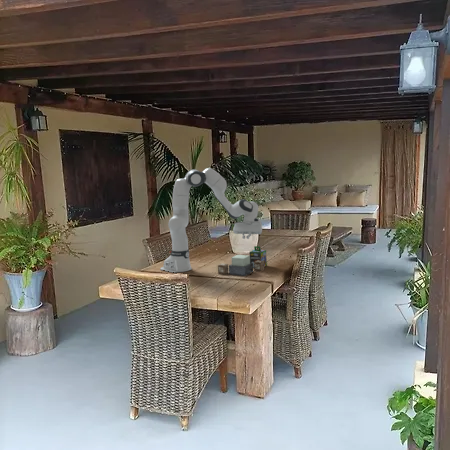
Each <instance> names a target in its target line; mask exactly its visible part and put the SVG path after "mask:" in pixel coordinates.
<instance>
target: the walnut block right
mask: <svg viewBox="0 0 450 450" xmlns="http://www.w3.org/2000/svg"><path fill="white" fill-rule="evenodd" d="M262 270H263V271H264V270H265V267H264V261H256V262H254V268H253V272H263V271H262Z"/></svg>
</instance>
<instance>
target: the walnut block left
mask: <svg viewBox="0 0 450 450" xmlns="http://www.w3.org/2000/svg"><path fill="white" fill-rule="evenodd" d="M217 274H218V275H226V274H227V275H228V274H229V264H228V263H220V264H217Z"/></svg>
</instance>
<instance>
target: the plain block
mask: <svg viewBox="0 0 450 450" xmlns="http://www.w3.org/2000/svg"><path fill="white" fill-rule="evenodd" d="M230 259H231V264H232V265H233V266H246V265H248V264H250V255H247V254H246V255H244V254H236V255H234V256H232V257H231V258H230Z"/></svg>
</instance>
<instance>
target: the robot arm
mask: <svg viewBox="0 0 450 450" xmlns="http://www.w3.org/2000/svg"><path fill="white" fill-rule="evenodd" d="M203 184H206V185H207V186H208V187H209V188H211V191H212V192H213V195H214V197H215V198H216V200H217V201H218V203H219V204H220V205H221V206H222V208H223V209H224V210H225V211H226V213H227V215H228V216H229V217H230V219H233V220H237V219H238V218H240V217H241V216H244V217H243V221H237V222H235V223H234V226H233V228H232V231H233V233H234V235H236V234H237V235H242V239H244V240H245V239H247V240H249V239H250V237H251V236H252V235H262V233H263V225H262V220H261V219H260V218H257V217H258V213H259V204H258V203H257V202H256V201H248V200H247V199H245V198H242V199H240V200H238V201H236V202H234V203H231V202H230V201H229V199H228V198H227V197H226V195H225V192H226V190H227V186H228V182H227V180H226V179H225V178H224V177H223V176H222V175H221V174H220V173H218V172H217V171H216V170H215V169H213V168H211V167H208V168H207V167H206V168H205V169H204V170H203V171H200V170H197V169H195V168H194V169H190V170H188V171H187V172H186V173H185V175H184V177H182V178H178V179H176V180H175V183H174V185H173V190H172V202H171V203H172V204H171V206H172V217H170V219H169V220H168V223H167V226H168V229H169V233H170V237H171V245H172V246H171V248H172V249H171V250H170V251H169V252H168V253H170V255H169V256H168V257H167V258H166V259H164V261H163V266H161V267H160V269H159V270H160V271H163V270H165V272H168V271H169V273H173V272H174V273H183V272H188V271H191V270H192V266H191V261H190V249H189V239H188V235H187V231H186V228H187V227H188V225H189V222H190V221H189V216H190V215H189V214H190V213H189V203H190V201H189V200H190V199H189V198H190V191H191V187H199V186H201V185H203ZM174 273H173V274H174Z"/></svg>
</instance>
